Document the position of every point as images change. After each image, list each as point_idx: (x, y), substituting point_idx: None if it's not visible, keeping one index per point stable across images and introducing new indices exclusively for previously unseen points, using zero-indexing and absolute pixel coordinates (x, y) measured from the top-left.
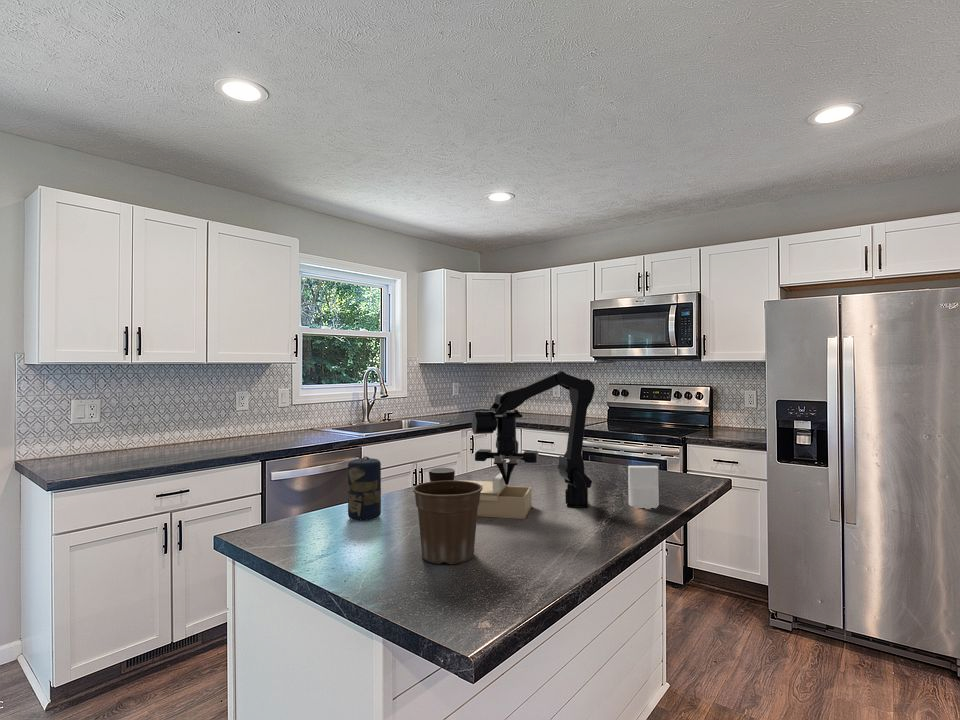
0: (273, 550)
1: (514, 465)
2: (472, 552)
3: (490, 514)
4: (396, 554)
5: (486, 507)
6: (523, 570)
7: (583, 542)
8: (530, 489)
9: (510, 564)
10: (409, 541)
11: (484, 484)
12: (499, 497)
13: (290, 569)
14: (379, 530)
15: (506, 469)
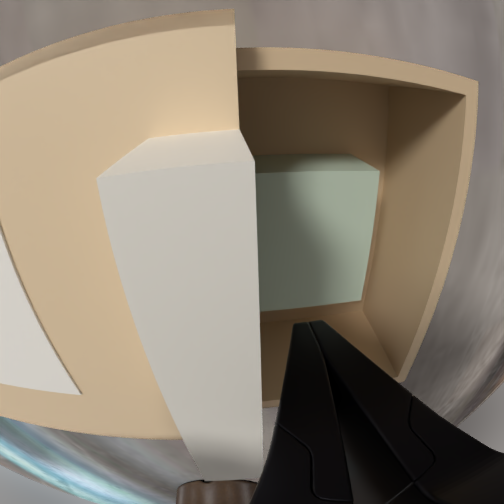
0: (7, 465)
1: (497, 469)
2: None
3: None
4: (140, 490)
5: None
6: None
7: (459, 395)
8: (469, 139)
9: None
10: (115, 468)
11: (19, 232)
12: (262, 405)
13: (74, 495)
14: (20, 431)
15: (346, 461)
